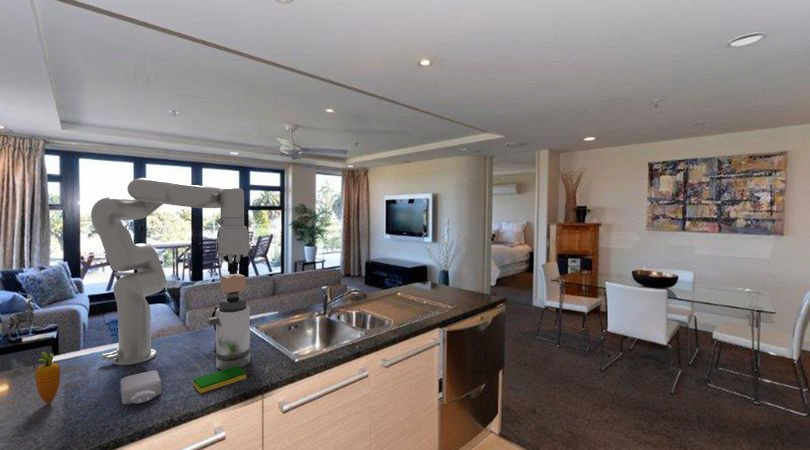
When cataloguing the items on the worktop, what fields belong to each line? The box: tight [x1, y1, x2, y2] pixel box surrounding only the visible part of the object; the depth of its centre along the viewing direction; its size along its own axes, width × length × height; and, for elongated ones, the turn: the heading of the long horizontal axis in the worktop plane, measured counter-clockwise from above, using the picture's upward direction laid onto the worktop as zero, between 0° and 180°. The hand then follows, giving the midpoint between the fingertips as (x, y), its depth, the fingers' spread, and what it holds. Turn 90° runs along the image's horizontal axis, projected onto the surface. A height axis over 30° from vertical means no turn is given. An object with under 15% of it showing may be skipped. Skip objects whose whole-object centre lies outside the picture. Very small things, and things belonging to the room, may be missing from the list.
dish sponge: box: [193, 366, 247, 394], centre depth 114 cm, size 7×14×2 cm, turn 136°
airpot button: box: [219, 273, 246, 294], centre depth 126 cm, size 6×6×5 cm
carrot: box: [34, 351, 61, 405], centre depth 100 cm, size 5×5×15 cm
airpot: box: [207, 291, 251, 371], centre depth 126 cm, size 14×11×27 cm
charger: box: [120, 370, 162, 405], centre depth 104 cm, size 5×9×15 cm
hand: (233, 273), depth 126 cm, fingers closed
